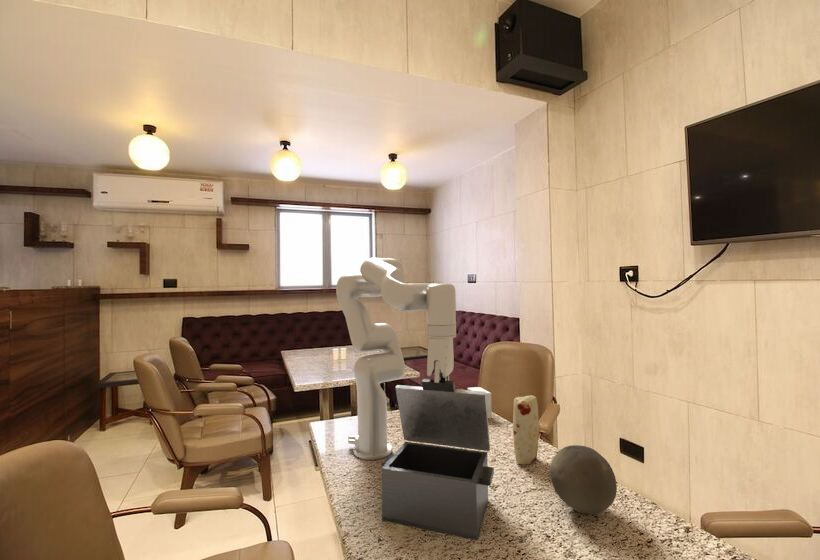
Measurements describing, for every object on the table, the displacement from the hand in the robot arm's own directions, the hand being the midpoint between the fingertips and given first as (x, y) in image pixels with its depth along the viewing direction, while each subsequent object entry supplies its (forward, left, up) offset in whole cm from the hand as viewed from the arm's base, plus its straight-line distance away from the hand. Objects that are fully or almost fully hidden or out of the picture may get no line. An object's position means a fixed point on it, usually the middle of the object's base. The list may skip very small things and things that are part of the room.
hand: (442, 402), depth 99 cm
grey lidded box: (0, -7, -24) cm, 25 cm away
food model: (+19, +26, -24) cm, 41 cm away
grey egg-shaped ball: (+33, +3, -24) cm, 41 cm away
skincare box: (-2, +64, -24) cm, 69 cm away
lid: (0, -1, -3) cm, 3 cm away
